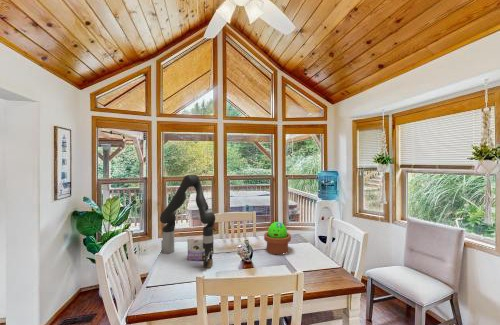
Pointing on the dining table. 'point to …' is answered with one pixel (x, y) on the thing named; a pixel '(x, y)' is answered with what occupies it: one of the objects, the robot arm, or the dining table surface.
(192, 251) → the candy box
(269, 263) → the dining table surface
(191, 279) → the dining table surface
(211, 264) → the walnut cube
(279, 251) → the potted cactus
